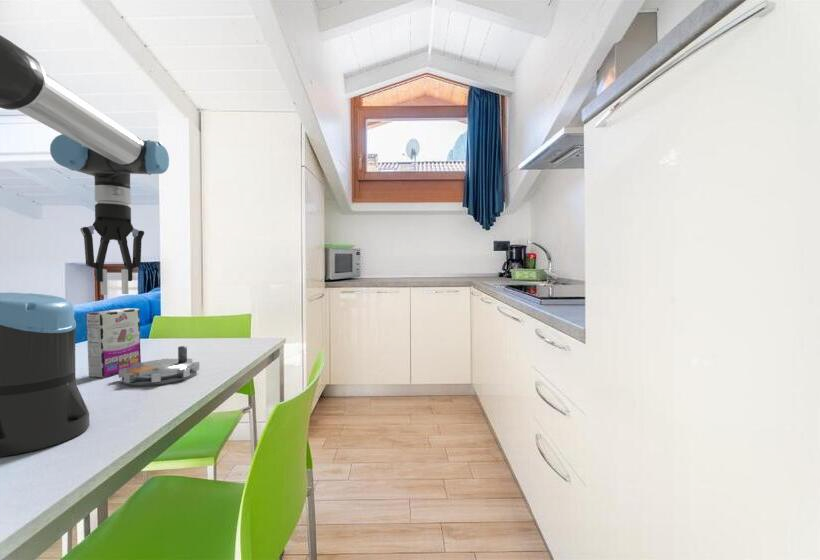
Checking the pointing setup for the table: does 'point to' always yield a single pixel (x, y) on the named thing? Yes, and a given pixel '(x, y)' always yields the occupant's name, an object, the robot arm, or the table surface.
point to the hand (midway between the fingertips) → (114, 293)
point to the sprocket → (160, 368)
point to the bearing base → (163, 382)
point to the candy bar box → (112, 341)
